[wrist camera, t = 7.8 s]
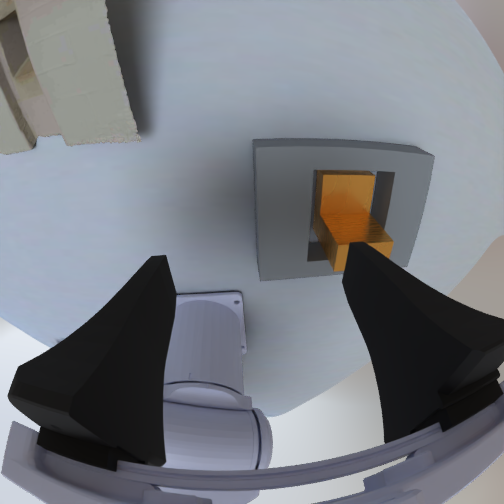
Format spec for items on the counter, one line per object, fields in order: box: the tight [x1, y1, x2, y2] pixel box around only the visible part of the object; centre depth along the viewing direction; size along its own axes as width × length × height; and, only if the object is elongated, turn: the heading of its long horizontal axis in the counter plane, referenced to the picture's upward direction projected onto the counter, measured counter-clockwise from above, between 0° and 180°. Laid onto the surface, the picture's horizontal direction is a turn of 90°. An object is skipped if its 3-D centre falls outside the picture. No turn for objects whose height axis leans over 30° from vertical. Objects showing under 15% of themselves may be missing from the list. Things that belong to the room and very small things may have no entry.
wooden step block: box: [313, 170, 394, 272], centre depth 18 cm, size 5×4×6 cm
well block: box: [253, 139, 435, 281], centre depth 19 cm, size 10×13×2 cm
